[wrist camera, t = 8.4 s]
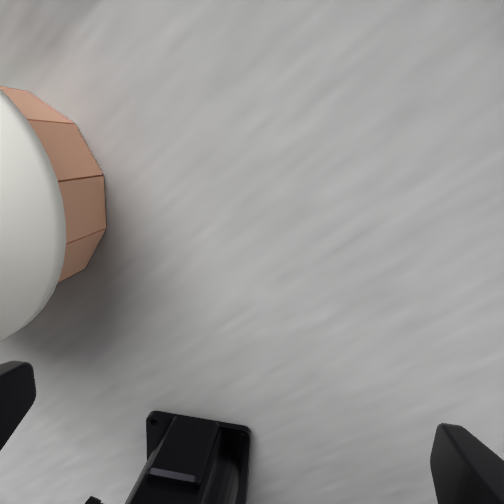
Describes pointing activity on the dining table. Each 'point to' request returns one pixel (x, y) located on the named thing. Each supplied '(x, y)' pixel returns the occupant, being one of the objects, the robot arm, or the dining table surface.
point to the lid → (27, 222)
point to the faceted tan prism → (69, 178)
